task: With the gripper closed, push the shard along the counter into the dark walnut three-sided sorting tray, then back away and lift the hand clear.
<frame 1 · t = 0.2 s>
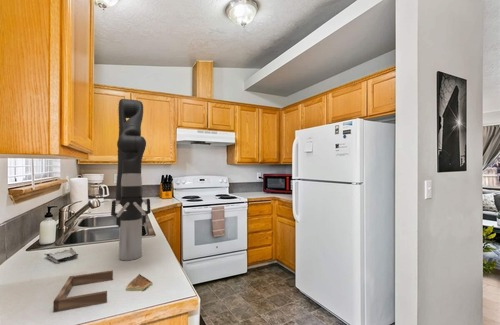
hand: (131, 225, 102), 17 cm above the counter, tool pointing down, fingers open, 8 cm apart
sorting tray: (89, 292, 83), on the counter
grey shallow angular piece: (62, 259, 113), on the counter
shard: (136, 287, 88), on the counter
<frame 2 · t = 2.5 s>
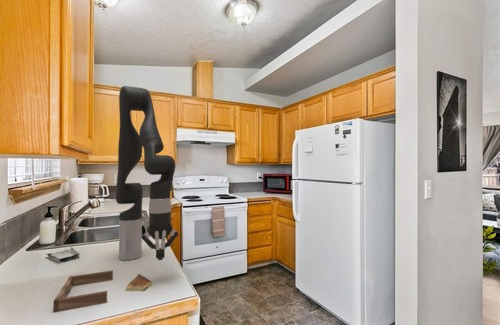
hand: (160, 259, 91), 8 cm above the counter, tool pointing down, fingers closed
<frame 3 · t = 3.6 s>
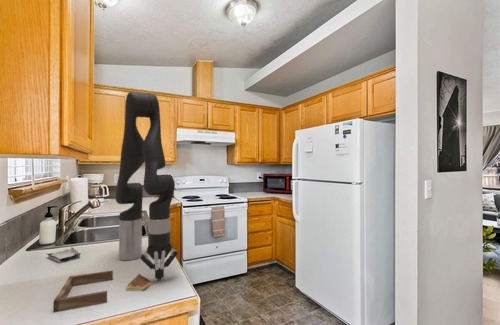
hand: (159, 278, 91), 1 cm above the counter, tool pointing down, fingers closed
nothing on the counter moved.
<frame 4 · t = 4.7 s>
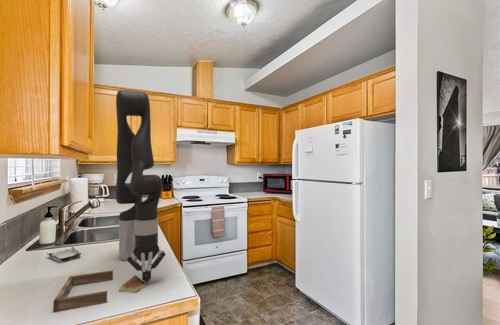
hand: (146, 280, 90), 1 cm above the counter, tool pointing down, fingers closed
shard: (129, 288, 88), on the counter
everything else where it was.
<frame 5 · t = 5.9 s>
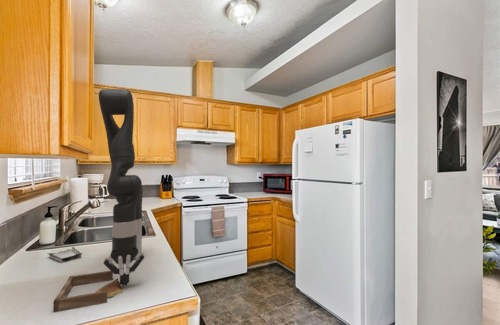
hand: (124, 284, 87), 1 cm above the counter, tool pointing down, fingers closed
shard: (107, 292, 84), on the counter, touching gripper
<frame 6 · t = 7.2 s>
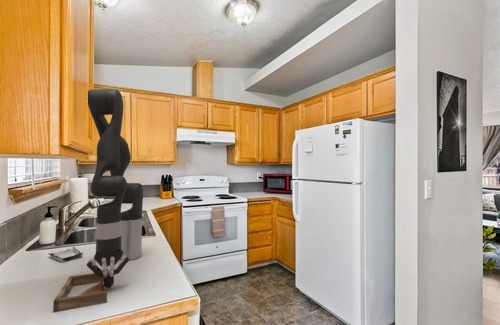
hand: (108, 287, 85), 1 cm above the counter, tool pointing down, fingers closed
shard: (90, 296, 82), on the counter, touching gripper
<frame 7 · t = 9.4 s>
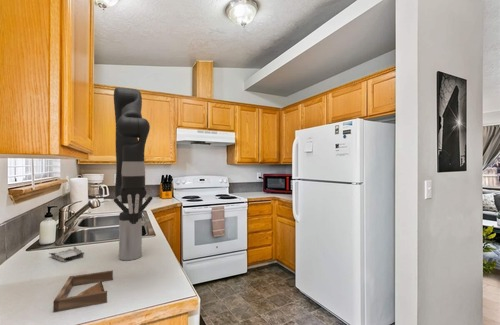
hand: (133, 223, 90), 21 cm above the counter, tool pointing down, fingers closed
shard: (89, 296, 82), on the counter
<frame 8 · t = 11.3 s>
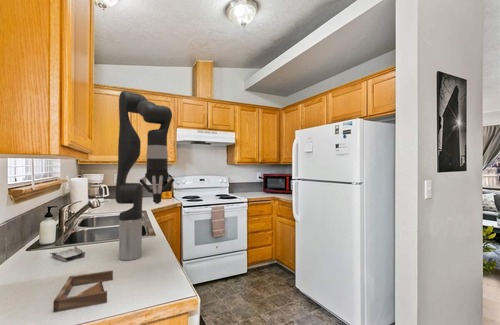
hand: (157, 203, 97), 27 cm above the counter, tool pointing down, fingers closed
at the end: shard inside the target area (1.3 cm from its centre), on the counter; shard moved 13.7 cm from its start; the gripper is holding nothing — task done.
